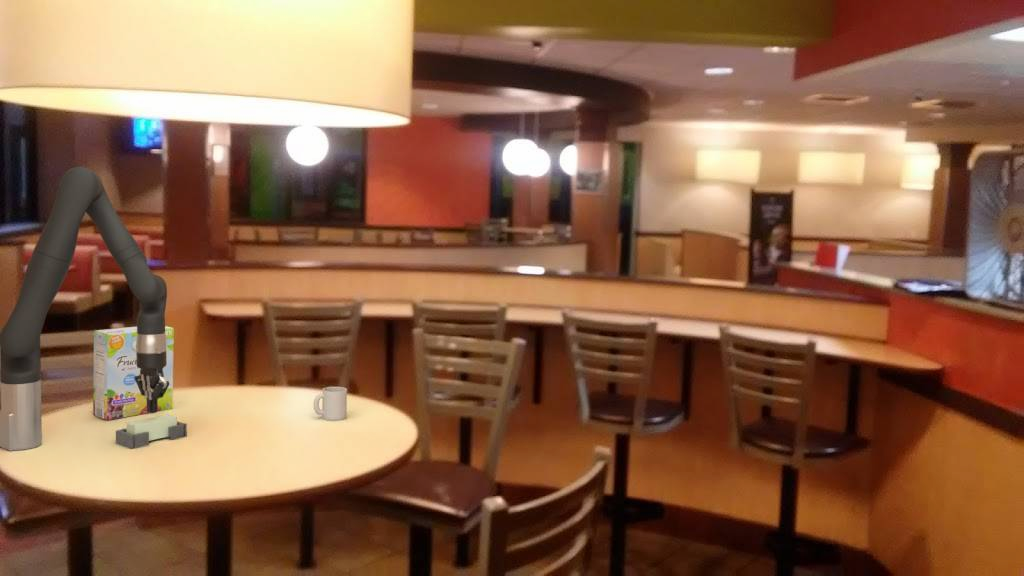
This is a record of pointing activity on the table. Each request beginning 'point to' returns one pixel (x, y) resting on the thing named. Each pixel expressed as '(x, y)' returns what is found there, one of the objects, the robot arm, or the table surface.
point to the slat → (152, 426)
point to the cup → (332, 403)
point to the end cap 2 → (177, 431)
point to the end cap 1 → (132, 439)
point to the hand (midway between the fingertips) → (152, 412)
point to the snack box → (124, 374)
